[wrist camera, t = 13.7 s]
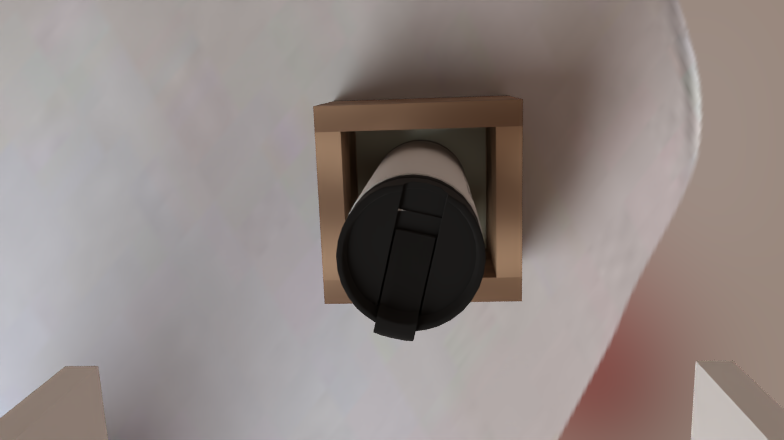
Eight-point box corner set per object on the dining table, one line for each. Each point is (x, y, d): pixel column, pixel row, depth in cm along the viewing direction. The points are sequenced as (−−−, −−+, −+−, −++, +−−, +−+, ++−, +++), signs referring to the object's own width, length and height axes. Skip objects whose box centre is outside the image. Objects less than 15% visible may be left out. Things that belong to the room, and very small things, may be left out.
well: (333, 101, 47) (313, 106, 39) (507, 95, 46) (522, 99, 38) (341, 267, 50) (324, 303, 42) (507, 265, 49) (521, 300, 41)
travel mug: (366, 223, 47) (318, 325, 28) (385, 130, 46) (348, 169, 26) (453, 242, 47) (466, 357, 28) (475, 149, 46) (505, 203, 26)
